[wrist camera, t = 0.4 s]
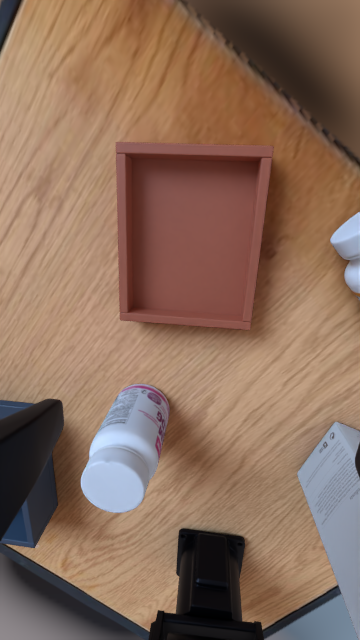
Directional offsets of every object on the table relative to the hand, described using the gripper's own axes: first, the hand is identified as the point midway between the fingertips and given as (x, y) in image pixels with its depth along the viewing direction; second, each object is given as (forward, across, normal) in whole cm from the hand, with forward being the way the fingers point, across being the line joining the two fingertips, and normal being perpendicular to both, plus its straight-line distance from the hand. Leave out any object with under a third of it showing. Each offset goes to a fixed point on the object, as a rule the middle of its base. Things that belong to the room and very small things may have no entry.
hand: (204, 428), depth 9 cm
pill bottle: (+14, +5, +9) cm, 18 cm away
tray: (+14, +2, -5) cm, 15 cm away
